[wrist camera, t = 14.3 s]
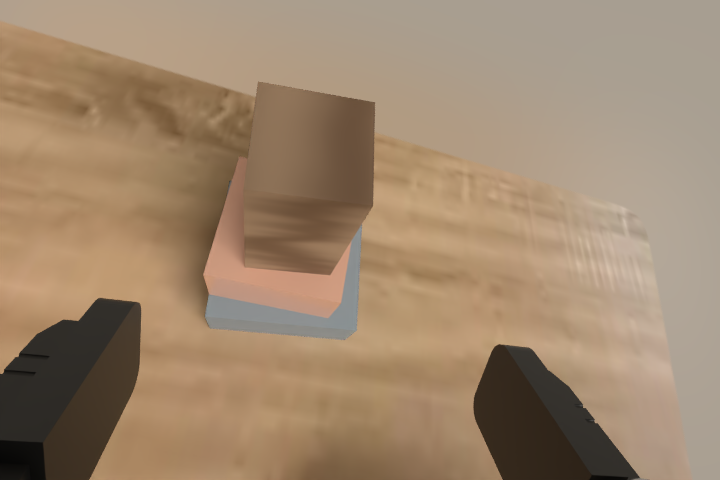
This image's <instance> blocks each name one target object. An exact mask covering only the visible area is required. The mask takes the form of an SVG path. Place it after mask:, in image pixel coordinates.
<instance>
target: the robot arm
mask: <svg viewBox="0 0 720 480" xmlns="http://www.w3.org/2000/svg"><path fill="white" fill-rule="evenodd" d="M140 332H141V306H140V303H138V302H131V301H122V300H113V299H104V298H98V299H97V300H96V301H95V302H94V303H93V304H92V305H91V307H90V308H89V309H88V310H87V312H86V313H85V314H84V315H83V316H82V318H81V319H80V320H79V321H72V320H62V321H60V322H58V323H57V324H55V325H53V326H51V327H49V328H47V329H46V330H44V331H42V332H40V333H38V334H37V335H36V336H35V337H34V338H33V339H32V340H31V341H30V342H29V343H28V345H27V346H26V347H25V348H24V349H23V350H22V351H21V352H20V353H19V357H15V359H14V360H13V361H12V362H11V363H10V364H9V365H8V366H7V367H6V368H5V369H4V373H3V374H0V480H89V479H90V477H91V475H92V473H93V471H94V469H95V467H96V465H97V463H98V461H99V459H100V457H101V455H102V453H103V451H104V449H105V447H106V445H107V443H108V441H109V439H110V437H111V435H112V433H113V431H114V429H115V427H116V425H117V423H118V421H119V419H120V417H121V415H122V412H123V410H124V408H125V406H126V404H127V402H128V400H129V398H130V396H131V394H132V392H133V389H134V387H135V383H136V380H137V376H138V371H139V363H140ZM474 416H475V420H476V422H477V425H478V427H479V429H480V431H481V433H482V435H483V438H484V440H485V442H486V444H487V446H488V448H489V451H490V453H491V455H492V457H493V459H494V461H495V464H496V466H497V468H498V470H499V472H500V475H501V477H502V479H503V480H648V479H641V478H640V477H639V476H638V475H637V473H636V472H635V471H634V469H633V468H632V467H631V466H630V464H629V463H628V462H627V460H626V459H625V458H624V457H623V455H622V454H621V453H620V452H619V450H618V449H617V448H616V446H615V445H614V444H613V443H612V441H611V440H610V439H609V437H608V436H607V435H606V434H605V432H604V431H603V430H602V428H601V427H600V426H599V425H598V424H597V423H595V422H594V420H595V419H594V418H593V417H592V416H591V414H590V413H589V412H588V411H587V409H586V408H583V404H582V403H581V402H580V400H579V399H578V398H577V396H576V395H575V394H574V393H573V391H572V390H571V389H570V387H569V386H567V385H566V384H565V383H564V382H562V381H561V380H560V379H559V378H558V377H556V376H555V375H554V374H553V373H551V372H550V371H548V370H547V368H546V367H545V366H544V364H543V363H542V362H541V360H540V359H539V358H538V356H537V355H536V354H535V352H534V351H533V350H532V349H530V348H527V347H518V346H509V345H500V344H499V345H497V346H495V347H494V349H493V350H492V352H491V355H490V357H489V360H488V362H487V365H486V368H485V370H484V373H483V375H482V378H481V380H480V383H479V385H478V388H477V391H476V393H475V397H474Z"/></svg>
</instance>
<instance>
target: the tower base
mask: <svg viewBox="0 0 720 480" xmlns="http://www.w3.org/2000/svg"><path fill="white" fill-rule="evenodd" d="M231 182H232V181H229V187H228V192H229V188H230V185H231ZM228 192H227V195H228ZM361 232H362V225H361V226H360V228H359V229H358V231H357V233H356V234H355V236H354V238H353V239H352V241H351V247H350V253H349V259H348V265H347V271H346V277H345V283H344V289H343V294H342V300H341V304H340V305H339V306H338V307H337V309H336V310H335V311H334V312H333V313H332V314H331V316H330V317H329V318H324V317H319V316H314V315H309V314H304V313H299V312H294V311H290V310H285V309H280V308H275V307H270V306H265V305H260V304H255V303H250V302H245V301H240V300H235V299H230V298H225V297H220V296H215V295H210V294H209V297H208V302H207V308H206V313H205V318H206V320H207V323H208V325H209V327H210V328H212V329H224V330H235V331H247V332H258V333H270V334H281V335H293V336H304V337H315V338H327V339H338V340H345V339H347V338H348V337H349V336H350V335H352V334H353V333H354V332H355V331H357V313H358V292H359V272H360V252H361Z"/></svg>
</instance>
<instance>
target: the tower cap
mask: <svg viewBox="0 0 720 480" xmlns="http://www.w3.org/2000/svg"><path fill="white" fill-rule="evenodd" d="M247 159H248V158H244V157H240V156H239V159H238V162H237V166H236V169H235V172H234V175H233V179H232V182H231V185H230V188H229V192H228V195H227V198H226V202H225V205H224V208H223V211H222V215H221V218H220V221H219V224H218V228H217V231H216V234H215V238H214V241H213V244H212V247H211V251H210V254H209V257H208V260H207V264H206V267H205V270H204V274H203V275H204V279H205V282H206V285H207V289H208V292H209V294H210V295H215V296H220V297H225V298H230V299H235V300H240V301H245V302H250V303H255V304H260V305H265V306H270V307H275V308H280V309H285V310H290V311H294V312H299V313H304V314H309V315H314V316H319V317H324V318H329V317H330V316H331V314H332V313H333V312H334V311H335V310H336V309H337V307H338V306H339V305H340V304H341V300H342V294H343V289H344V283H345V277H346V271H347V265H348V259H349V253H350V247H351V242H350V244H349V246H348V247H347V249H346V250H345V252H344V254H343V255H342V257H341V259H340V260H339V262H338V263H337V265H336V267H335V268H334V270H333V272H332V273H331V275H321V274H310V273H299V272H288V271H278V270H267V269H256V268H246V267H245V250H244V196H243V188H244V181H245V174H246V166H247Z"/></svg>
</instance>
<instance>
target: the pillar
mask: <svg viewBox="0 0 720 480" xmlns="http://www.w3.org/2000/svg"><path fill="white" fill-rule="evenodd" d="M374 121H375V102H369V101H363V100H358V99H352V98H346V97H341V96H336V95H330V94H324V93H319V92H312V91H308V90H302V89H296V88H291V87H285V86H279V85H274V84H268V83H263V82H258V87H257V94H256V101H255V108H254V116H253V123H252V130H251V137H250V145H249V152H248V159H247V166H246V174H245V181H244V188H243V196H244V250H245V267H246V268H256V269H267V270H278V271H288V272H299V273H310V274H321V275H331V273H332V272H333V270H334V268H335V267H336V265H337V263H338V262H339V260H340V259H341V257H342V255H343V254H344V252H345V250H346V249H347V247H348V246H349V244H350V242H351V241H352V239H353V238H354V236H355V234H356V233H357V231H358V229H359V228H360V226H361V225H362V223H363V221H364V220H365V218H366V216H367V215H368V213H369V212H370V210H371V208H372V207H373V179H374V123H375V122H374Z"/></svg>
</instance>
